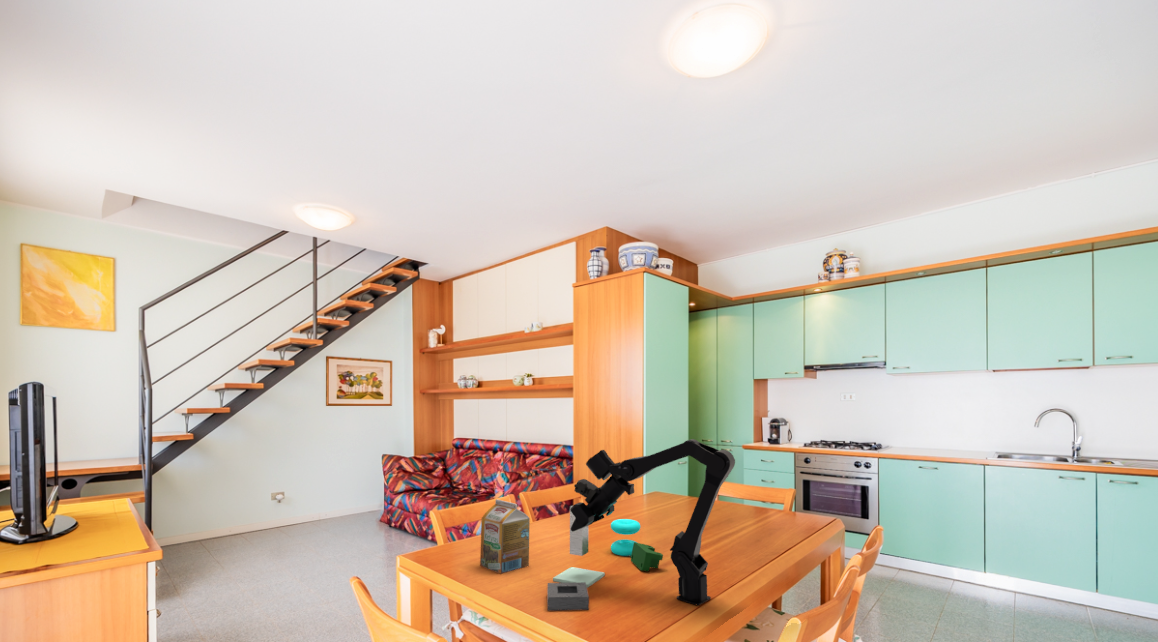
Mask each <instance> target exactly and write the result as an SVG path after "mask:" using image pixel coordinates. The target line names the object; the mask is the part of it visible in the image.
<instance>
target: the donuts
mask: <svg viewBox="0 0 1158 642" xmlns="http://www.w3.org/2000/svg"><path fill="white" fill-rule="evenodd" d="M610 528H611V530H612V531H613V532H614V533H616V534H618V535H623V536H627V535H629V536H630V535H634V534H637V533H638V532H639V531H641V523H640V522H639V521H638V520H634V519H630V518H629V519H628V518H620V519H614V520H613V521H612V522H611V523H610ZM634 542H636V543H638V542H637V541H635V540H632V539H625V538H624V539H623V538H622V539H617V540H615V541H613V542H612V543H611V546H610V550H611V552H612V553H613V555H614V554H615V555H617V556H621V557H631V554H632V549H633V545H634Z"/></svg>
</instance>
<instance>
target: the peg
mask: <svg viewBox="0 0 1158 642" xmlns="http://www.w3.org/2000/svg"><path fill="white" fill-rule="evenodd" d="M572 506H573V505H570V506H569V554H570V555H573V556H581V557H583V556H585V555H586V554H588V553H589V526H586V527H583V528H581V529H578V530H576V531H574V532H572V531H571V529H570V528H571V526H572V524H573V522H574V520H575V518H576V517H575V516H574V515H573V514H572V512H571V511H570V509H571V508H572Z"/></svg>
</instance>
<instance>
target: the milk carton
mask: <svg viewBox="0 0 1158 642" xmlns="http://www.w3.org/2000/svg"><path fill="white" fill-rule="evenodd" d="M530 520H531V519H530V517H529V516H528V515H527V514H526V513H524V512H523V511H522V510H520V509H518V504H517V503H513V502H510V501H505V500H502V499H495V504H494V505H492V506H491V507H490V508H489V509H488V510H487V511H486V512H485V513H484V514H483V515H482V517H481V522H480V523H481V528H480V530H481V531H480V532H481V533H480V552H479V554H480V557H479V559H480V560H479V566H480V567H481V568H485V569H486V570H489V569H490V571H492V572H494V573H496V574H499V575H503V574H506V573H509V572H510V573H511V572H514V571H516V570H520V568H521V569H525V568H527V566H528V567H529V566H530V525H531V524H530V522H531V521H530Z"/></svg>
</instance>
